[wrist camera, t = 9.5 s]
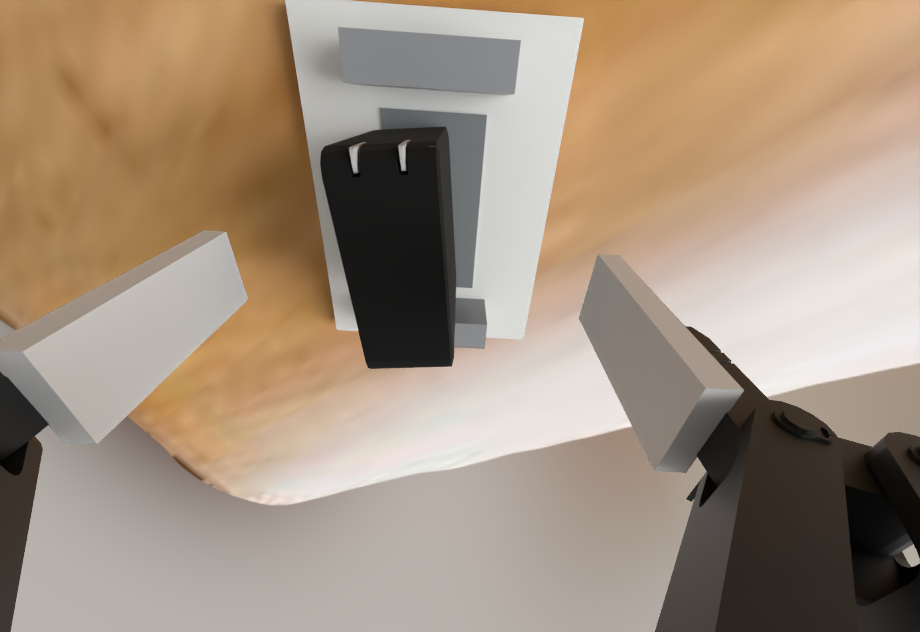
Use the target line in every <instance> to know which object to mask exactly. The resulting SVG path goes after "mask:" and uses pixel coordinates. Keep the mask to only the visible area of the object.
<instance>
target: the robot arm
mask: <svg viewBox="0 0 920 632" xmlns="http://www.w3.org/2000/svg"><path fill="white" fill-rule="evenodd" d="M247 300H248V298H247V295H246V292H245V288H244V285H243V282H242V279H241V276H240V273H239V270H238V267H237V264H236V260H235V257H234V254H233V251H232V248H231V245H230V242H229V239H228V236H227V233H226V232H225V231H208V230H204V231H202V232H200V233H198V234H196V235H194V236H192V237H190V238H189V239H187V240H185V241H183V242H181V243H179V244H177V245H175V246H174V247H172V248H170V249H168V250H166V251H164V252H162V253H161V254H159V255H157V256H155V257H153V258H151V259H149V260H147V261H146V262H144V263H142V264H140V265H138V266H136V267H134V268H132V269H131V270H129V271H127V272H125V273H123V274H121V275H119V276H117V277H116V278H114V279H112V280H110V281H108V282H106V283H104V284H102V285H101V286H99V287H97V288H95V289H93V290H91V291H89V292H88V293H86V294H84V295H82V296H80V297H78V298H76V299H74V300H73V301H71V302H69V303H67V304H65V305H63V306H61V307H59V308H58V309H56V310H54V311H52V312H50V313H48V314H46V315H44V316H43V317H41V318H39V319H37V320H35V321H33V322H31V323H30V324H28V325H26V326H24V327H22V328H20V329H18V330H16V331H15V332H13V333H11V334H9V335H7V336H5V337H3V338H2V339H0V632H10V631H11V625H12V620H13V614H14V609H15V602H16V597H17V591H18V586H19V580H20V575H21V569H22V563H23V557H24V552H25V546H26V541H27V535H28V529H29V524H30V518H31V512H32V507H33V500H34V495H35V490H36V484H37V478H38V473H39V467H40V461H41V456H42V450H43V449H42V445H41V443H40V442H39V440H38V439H37V438H36V437H35V435H36V434H38V433H39V432H40V431H41V430H43V429H44V428H45V427H46V426H48V425H49V426H50V428H51V429H52V430H53V431H54V432H55V433H56V434H57V435H58V436H59V438H60V439H61V440H62V441H63V442H65V443H67V442H68V443H86V444H87V443H88V444H98V443H99V442H100V441H101V440H102V439H103V438H104V437H105V436H106V435H107V434H108V433H109V432H110V431H112V429H114V428H115V427H116V426H117V425H118V424H119V423H120V422H121V421H122V420H123V419H124V418H125V417H126V416H127V415H128V414H129V413H130V412H131V411H132V410H133V409H134V408H135V407H137V406H138V405H139V404H140V403H141V402H142V401H143V400H144V399H145V398H146V397H147V396H148V395H149V394H150V393H151V392H152V391H153V390H154V389H155V388H156V387H157V386H158V385H159V384H161V383H162V382H163V381H164V380H165V379H166V378H167V377H168V376H169V375H170V374H171V373H172V372H173V371H174V370H175V369H176V368H177V367H178V366H179V365H180V364H181V363H182V362H183V361H184V360H186V359H187V358H188V357H189V356H190V355H191V354H192V353H193V352H194V351H195V350H196V349H197V348H198V347H199V346H200V345H201V344H202V343H203V342H204V341H205V340H206V339H207V338H208V337H209V336H211V335H212V334H213V333H214V332H215V331H216V330H217V329H218V328H219V327H220V326H221V325H222V324H223V323H224V322H225V321H226V320H227V319H228V318H229V317H230V316H231V315H232V314H233V313H235V312H236V311H237V310H238V309H239V308H240V307H241V306H242V305H243V304H244V303H245V302H246V301H247ZM579 319H580V321H581V323H582V325H583V327H584V329H585V331H586V333H587V335H588V337H589V339H590V341H591V344H592V346H593V348H594V350H595V352H596V354H597V356H598V358H599V360H600V362H601V364H602V366H603V368H604V370H605V372H606V374H607V376H608V378H609V380H610V382H611V384H612V386H613V388H614V390H615V392H616V394H617V396H618V398H619V400H620V402H621V404H622V406H623V408H624V410H625V412H626V414H627V416H628V418H629V420H630V422H631V424H632V427H633V429H634V431H635V433H636V435H637V437H638V439H639V441H640V443H641V445H642V447H643V449H644V451H645V452H646V455H647V457H648V459H649V461H650V463H651V465H652V467H653V469H654V471H663V472H682V473H686V472H687V471H688V469H689V468H690V466H691V465H692V463H693V462H694V461H695V459H696V458H697V457H698V458H699V460H700V461H701V463H702V465H703V466H704V468H705V469H706V471H707V472H706V473H705V475H704V476H703V477H702V479H701V480H700V481H699V483H698V484H697V485H696V486H695V488H694V489H693V491H692V492H691V493H690V495H689V496H688V497H687V498H686V499H687V500H689V501H692V500H693V499H694V498H695V499H694V503H693V506H692V509H691V512H690V516H689V519H688V523H687V526H686V530H685V533H684V536H683V539H682V543H681V546H680V549H679V553H678V556H677V560H676V564H675V566H674V570H673V573H672V576H671V580H670V583H669V587H668V590H667V593H666V597H665V600H664V604H663V607H662V610H661V613H660V617H659V620H658V623H657V627H656V630H655V632H920V564H918V565H917V566H914V567H911V566H910V565H909V563H908V562H907V560H906V558H905V556H904V554H903V552H902V551H903V550H904V549H906V548H908V547H909V546H911V545H912V544H914V546H915V548H916V549H917V552H918V555H919V558H920V437H918V436H915V435H910V434H906V433H901V432H895V433H888V434H887V435H886V436H885V437H883V438H882V439H881V440H880V441H879V442H878V443H877V444H876V445H874V446H873V447H871V446H867V445H864V444H860V443H856V442H853V441H849V440H845V439H841V438H838V437H837V436H836V434H835V433H834V432H833V431H832V430H831V429H830V428H829V427H828V426H827V425H826V424H825V423H824V422H822V421H821V420H819V419H818V418H816V417H815V416H814V415H812V414H810V413H808V412H806V411H804V410H802V409H801V408H799V407H797V406H793V405H791V404H787V403H785V402H781V401H774V400H769V399H768V398H767V397H766V396H765V395H764V394H763V393H762V392H761V391H760V390H759V389H758V388H757V387H756V386H755V385H754V384H753V383H752V382H751V381H750V380H749V379H748V378H747V377H746V376H745V375H744V374H743V373H742V372H741V371H740V369H739V368H738V367H737V366H736V365H735V364H731V360H730V359H729V358H728V357H727V356H726V355H725V354H724V353H721V350H720V349H719V348H718V347H717V346H716V345H715V344H714V343H713V342H712V341H711V340H710V339H709V338H708V337H706V336H705V335H703V334H702V333H700V332H698V331H697V330H695V329H694V328H692V327H686V326H684V325H683V324H682V323H681V321H680V320H679V319H678V318H677V317H676V316H675V315H674V314H673V313H672V312H671V311H670V310H669V308H668V307H667V306H666V305H665V304H664V303H663V302H662V301H661V300H660V299H659V298H658V297H657V296H656V294H655V293H654V292H653V291H652V290H651V289H650V288H649V287H648V286H647V285H646V284H645V283H644V281H643V280H642V279H641V278H640V277H639V276H638V275H637V274H636V273H635V272H634V271H633V270H632V269H631V267H630V266H629V265H628V264H627V263H626V262H625V261H624V260H623V259H622V258H621V257H620V256H619V255H606V254H598V256H597V259H596V262H595V266H594V269H593V273H592V276H591V279H590V283H589V286H588V290H587V293H586V296H585V300H584V303H583V307H582V310H581V313H580V317H579Z"/></svg>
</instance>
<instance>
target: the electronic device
mask: <svg viewBox="0 0 920 632" xmlns="http://www.w3.org/2000/svg"><path fill="white" fill-rule="evenodd" d="M320 167H321V174H322V180H323V184H324V189H325V193H326V197H327V201H328V205H329V210H330V214H331V218H332V222H333V226H334V231H335V235H336V239H337V243H338V247H339V251H340V256H341V260H342V264H343V268H344V272H345V277H346V281H347V285H348V289H349V293H350V298H351V302H352V306H353V310H354V314H355V318H356V323H357V327H358V331H359V335H360V339H361V344H362V348H363V352H364V356H365V360H366V363H367V366H368V368H370V369H378V368H413V367H448V366H452V363H453V359H454V336H455V307H456V262H455V243H454V225H453V206H452V187H451V168H450V150H449V135H448V132H447V128H446V127H427V128H406V129H385V130H373V131H370V132H367V133H364V134H361V135H357V136H354V137H351V138H348V139H345V140H342V141H339V142H336V143H333V144H330V145H327V146H324V148H323V149H322V151H321V158H320Z"/></svg>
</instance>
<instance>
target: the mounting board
mask: <svg viewBox="0 0 920 632" xmlns="http://www.w3.org/2000/svg"><path fill="white" fill-rule="evenodd" d="M285 3H286V9H287V16H288V22H289V28H290V35H291V41H292V48H293V54H294V60H295V67H296V73H297V79H298V86H299V92H300V98H301V105H302V111H303V118H304V124H305V130H306V137H307V143H308V149H309V156H310V162H311V169H312V175H313V181H314V188H315V194H316V200H317V207H318V213H319V220H320V226H321V232H322V239H323V245H324V251H325V258H326V264H327V271H328V277H329V283H330V290H331V296H332V302H333V309H334V315H335V321H336V328H337V330H347V331H358V327H357V323H356V318H355V314H354V310H353V306H352V302H351V298H350V293H349V289H348V285H347V281H346V277H345V272H344V268H343V264H342V260H341V256H340V251H339V247H338V243H337V239H336V235H335V231H334V226H333V222H332V218H331V214H330V210H329V205H328V201H327V197H326V193H325V189H324V184H323V180H322V174H321V167H320V158H321V151H322V149H323V148H324V146H327V145H330V144H333V143H336V142H339V141H342V140H345V139H348V138H351V137H354V136H357V135H361V134H364V133H367V132H370V131H373V130H385V129H406V128H427V127H446V128H447V132H448V135H449V150H450V168H451V187H452V206H453V225H454V243H455V262H456V307H455V336H454V347H459V348H479V349H484V348H485V339H486V338H504V339H524V333H525V328H526V323H527V318H528V312H529V307H530V302H531V297H532V291H533V286H534V281H535V275H536V270H537V265H538V260H539V254H540V249H541V244H542V239H543V233H544V228H545V223H546V217H547V212H548V207H549V202H550V196H551V191H552V186H553V180H554V175H555V170H556V165H557V159H558V154H559V149H560V144H561V138H562V133H563V128H564V122H565V117H566V112H567V107H568V101H569V96H570V91H571V86H572V80H573V75H574V70H575V64H576V59H577V54H578V49H579V43H580V38H581V33H582V28H583V22H584V18H576V17H563V16H549V15H536V14H523V13H509V12H496V11H482V10H469V9H456V8H442V7H429V6H416V5H402V4H389V3H375V2H362V1H349V0H285Z"/></svg>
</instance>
